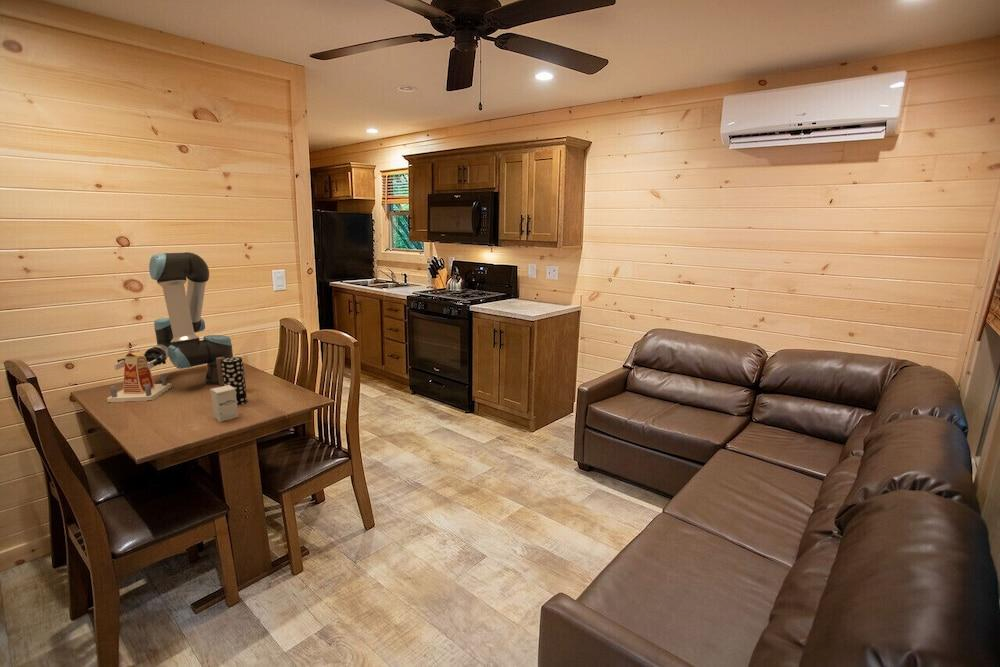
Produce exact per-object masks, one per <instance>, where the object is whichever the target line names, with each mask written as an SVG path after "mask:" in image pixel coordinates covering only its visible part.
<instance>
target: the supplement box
mask: <svg viewBox="0 0 1000 667" xmlns="http://www.w3.org/2000/svg"><path fill="white" fill-rule="evenodd" d="M209 391H210V397H211V404H212V405H211V406H212V412H213V418H215V419H216V420H217V421H218V422H220V423H222V422H225V421H228V420H232V419H235V418H236V419H237V418H239V410H238V405H237V399H236V390H235V388H233V387H232V386H230V385H227V386H222V387H220V386H219V387H213V388H210V390H209Z"/></svg>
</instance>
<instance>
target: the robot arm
mask: <svg viewBox="0 0 1000 667" xmlns="http://www.w3.org/2000/svg"><path fill="white" fill-rule="evenodd" d="M148 265H149V266H148V269H149V270H148V271H149V274H150V275H149V276H150V278H151V279H152V280H154V281H156V283H157V284H158V285H159V286H160V287H162V292H163V296H164V300H165V305H166V309H167V310H166V311H167V313H168V314H167V315H168V317H161V318H157V319H155V320H154V322H153V323H154V324H153V325H154V326H153V328H154V332H155V338H156V345H155V346H153V347H150V348H149V349H146V350H145V352H144V353H142V354H143V355H144V356H145V357H146V360H147V362H148V363H147V365H148V369H150V370H151V369H153V368H155V367H157V366H160V365H165V364H166V363H167V361H166V360H167V359H168V358H169V361H170V362H171V364H172V365H173V366H174V367H175V368H176V369H179V370H180V369H181V370H182V369H188V368H189V369H190V368H192V367H197V366H198V367H199V366H201V365H206V367H207V369H206V373H205V376H204V380H205V384H207V385H209V386H210V385H211V386H220V385H219V378H218V370H217V363H216V358H218V357H225V358H229V357H234V354H233V353H234V352H233V344H232V340H231V338H230V336H228V335H223V334H211V335H210V334H208V335H205V336H203V337H202V338H203V339H202V340H200V336H198V335H196V334H195V333H199V332H203V331H205V329H206V322H205V320H204V318H203V317H202V311H203V305H204V297H205V292H206V284H207V283H208V281H209V280H210V269H209V266H208V265H207V262H206V261H205V259H204V258H202V257H201V256H200V255H198V254H196V253H193V252H188V251H187V252H165V253H163V252H162V253H156V254H153V255H152V256H151V257H150V259H149V264H148ZM186 282H187V287H186V288H185V284H186ZM116 361H117V362H116V363H114V364H113V366H114V371H119V370H120V369H122V368H124V367H125V357H124V358H121V359H117V360H116Z"/></svg>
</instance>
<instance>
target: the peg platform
mask: <svg viewBox="0 0 1000 667" xmlns="http://www.w3.org/2000/svg"><path fill="white" fill-rule="evenodd" d="M160 380H161V383H154V386H155V388H154V389H152V390H151V388H150V384H145V385H144V386H145V392H146V393H144V394H125V393H124V388H122V389H121V390H118V391H117V386H116V385H115V384H113V385H109V388H110V389H109V390H110V394H111V395H110V396H108V397H106V400H107V403H108V402H111V403H126V402H125V401H135V402H148V401H147V400H152V401H154V400H155V399H157V398H159V397H160V396H162V395H163V394H164V393H166V392H167V391H169V390H170V389H172V388H171V387H173V385H172V383H168V381H167V374H166V373H165V374H161V375H160ZM169 388H170V389H169ZM168 389H169V390H168ZM165 391H166V392H165ZM163 392H164V393H163ZM162 393H163V394H162ZM159 395H160V396H159ZM156 397H157V398H156ZM153 399H154V400H153Z"/></svg>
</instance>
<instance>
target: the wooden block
mask: <svg viewBox="0 0 1000 667" xmlns="http://www.w3.org/2000/svg"><path fill="white" fill-rule="evenodd" d="M222 359H225V357H218V358H216V363H217V370H218V378H219V385H218V386H219V387H222V386H224V385H223V377H222V370H221V362H220V361H221V360H222ZM243 372H244V380H245V381H246V377H245V376H246V375H245V368H244V365H243ZM245 389H246V390H247V385H246V382H245Z"/></svg>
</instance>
